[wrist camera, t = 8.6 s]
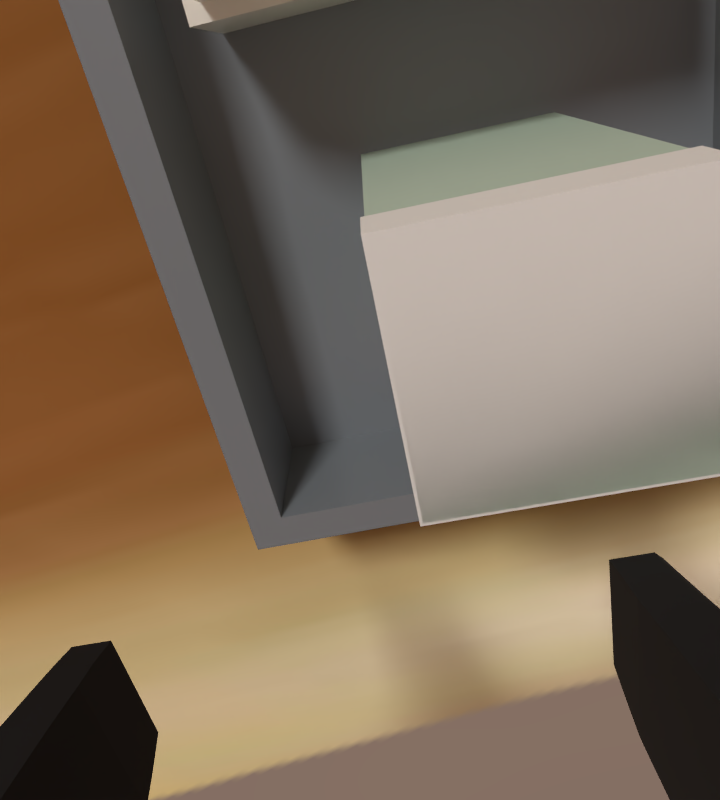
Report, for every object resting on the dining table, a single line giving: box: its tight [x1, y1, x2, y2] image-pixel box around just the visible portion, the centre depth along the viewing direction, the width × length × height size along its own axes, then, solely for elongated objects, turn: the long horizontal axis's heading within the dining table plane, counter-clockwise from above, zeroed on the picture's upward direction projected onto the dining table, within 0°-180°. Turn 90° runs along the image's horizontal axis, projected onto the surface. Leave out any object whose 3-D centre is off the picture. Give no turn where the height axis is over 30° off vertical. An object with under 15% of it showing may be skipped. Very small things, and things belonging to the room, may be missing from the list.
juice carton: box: [360, 112, 720, 527], centre depth 13 cm, size 4×4×8 cm
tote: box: [58, 0, 720, 550], centre depth 13 cm, size 13×21×4 cm, turn 12°
